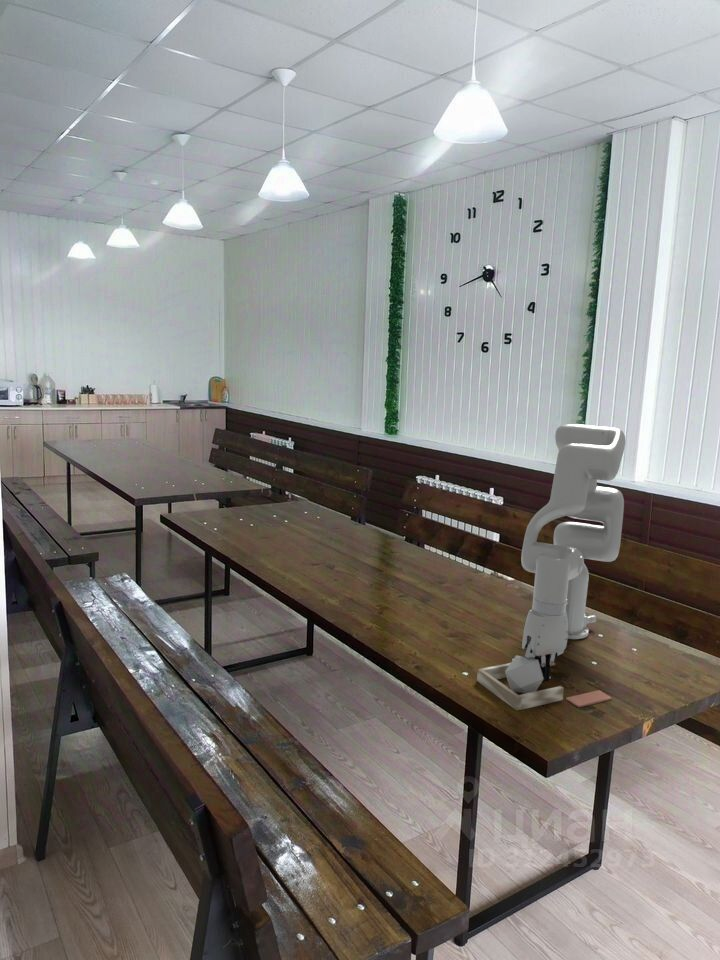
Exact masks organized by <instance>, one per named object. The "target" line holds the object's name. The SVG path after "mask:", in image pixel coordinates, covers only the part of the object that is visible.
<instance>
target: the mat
mask: <svg viewBox="0 0 720 960" xmlns="http://www.w3.org/2000/svg"><path fill="white" fill-rule="evenodd" d="M612 699H613V698H612V697H611V696H610V695H608V694H606V693H605V692H603V691H602V690H600V689H598V690H594V691H589V692H585V693H581V694H576V695H572V696H569V697H568V696H567V697H565V700H566V701H568V702H569V703H571V704H572V705H574V706H576V707H577V708H582V707H586V706H591V705H594V704H598V703H604V702H607V701H611V700H612Z"/></svg>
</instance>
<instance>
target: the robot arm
mask: <svg viewBox="0 0 720 960" xmlns="http://www.w3.org/2000/svg"><path fill="white" fill-rule="evenodd" d="M554 437H555V438H554V439H555V444H556V447H557V450H558V453H557V457H556V464H555V469H554V474H553V481H552V487H551V491H550V492H551V493H550V498H549V501H548V502H547V504H546V505H544V506H543V507H542V508H541V509H539V510H538V511H536V513H535V514H534V516H533V517H532V518H531V519H530V521H529V523H528V524H527V527H526V530H525V534H524V539H523V543H522V549H521V556H520V557H521V559H520V561H521V566H522V568H523V570H525V571H527V572H529V573H532V574H534V583H533V584H534V586H533V595H532V607H531V609H529V611H528V613H527V615H526V620H525V623H524V628H523V635H522V642H521V648H522V649H523V650H525V654H524V657H525V658H527V659H528V660H529V659H536V660H538V661H539V664H540V668H541V671H542V675H543V678H544V679H543V681H542V682H541V683H546V682H547V683H549V682H550V677H551V676H550V675H551V668H552V666H551V665H553V663H555V660H556V659H557V657H558V656H560V655H562V654H564V652H565V649H566V648H567V644H568V640H581V639H585V638H587V637H588V636H589V635H590V633H589V632H590V630H589V628H588V627H587V625H588V624H590V623H591V624H592V623H595V622H597V617H596V615H594V614H593V615H588V616H587V615H586V606H587V605H586V604H587V595H588V587H589V577H590V576H589V575H590V573H589V570H588V567H587V566H586V564H585V559H586V560H592V561H598V562H599V561H600V562H609V563H611V562H613V561H616V559H617V558H618V556H619V553H620V548H621V542H622V541H621V539H622V529H623V520H624V510H625V509H624V508H625V499H624V495H623V493H622V492H621V490H619V489H617V488H614V487H607V486H599V485H598V483H597V481H607V482H611V481H613V480H614V479H615V478H616V477H617V475H618V473H619V471H620V466H621V462H622V458H623V455H624V452H625V447H626V436H625V432H624V431H623V430H622V429H621V428H617V427H610V426H601V425H599V426H597V425H590V424H580V423H579V424H578V423H576V424H575V423H570V424H569V423H568V424H567V423H566V424H561V425H559V426H557V428H556V430H555V435H554ZM563 517H569V518H571V519H577V520H581V521H582V520H585V521H592V522H596V523H597V522H599V523H602V525H599V524H598V525H597V524H591V523H585V522H578V521H576V522H575V521H564V522H561V523H558V525H557V526H556V527H555V528H554V531H553V532H554V533H553V544H552V543H547V542H539V541H537V539H538V536H539V533H540V531H541V530H542V528H543V527H545V526H546V525H547V524H549V523H550V522H552V521H554V520H557V519H559V518H560V519H561V518H563ZM553 666H554V665H553Z"/></svg>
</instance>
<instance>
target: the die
mask: <svg viewBox="0 0 720 960" xmlns="http://www.w3.org/2000/svg"><path fill="white" fill-rule="evenodd" d="M510 663H511V664H510V665H509V667H508V668H507V670H506V671H505V674H506V680H507V683H508V686H509V687H508V688H509V689H511V690H512V691H514V692H515V693H517V694H521V695H522V694H526V693H531V692H535V691H538V689H539V687H540V685H541V684H542V683H543V682H542V681H543V679H544V678H543V675H542V671H541V668H540V664H539V661H538V660H536V659H529V660H528V659H527V658H525V656H521V655H518V654H517V655H515V656H514V658H513V659H512V660H511V662H510Z"/></svg>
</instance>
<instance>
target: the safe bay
mask: <svg viewBox="0 0 720 960" xmlns="http://www.w3.org/2000/svg"><path fill="white" fill-rule="evenodd" d="M510 664H511V662H508V663H503V664H497V665H492V666H488V667H482V668H478V669H477V675H476V676H477V677H476V682H478V683H479V684H480V685H481V686H483V687H484V688H485V689H487V690H488V691H490V693H492V694H494V695H495V696H497V698H499V699H500V700H502V701H503V702H504V703H506V704H507V705H508V706H510V707H511V708H513V709H514V710H515V711H517V712H518V711H521V710H526V709H530V708H534V707H539V706H542V705H543V706H544V705H547V704H553V703H555V702H561V701H563V700H564V689H565V688H564V687H563V686H562V685H558V686H555V687H550V688H545V689H541V690H536V691H535V692H531V693H526V694H522V693H521V694H519V693H517V692H514V691H512V690H511V689H510V687H508V686H507V685H506V684H504V683H502V682H501V681H499V680H500V679H505V678H506V679H507V677H506V674H505V671H506V670H507V668H508V667H509V665H510Z"/></svg>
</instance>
